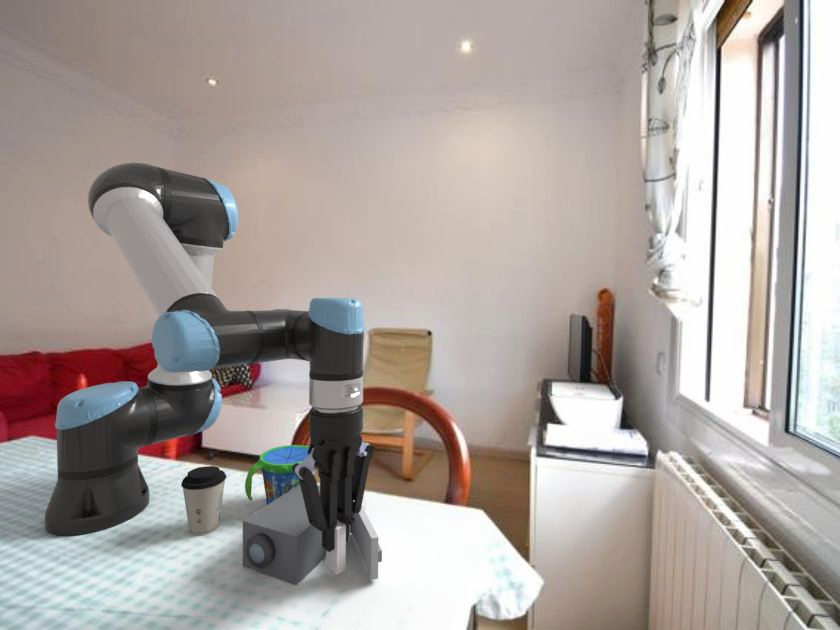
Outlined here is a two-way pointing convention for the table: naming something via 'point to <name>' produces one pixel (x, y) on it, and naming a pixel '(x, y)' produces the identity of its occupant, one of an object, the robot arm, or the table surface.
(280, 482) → the snack cup
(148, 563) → the table surface
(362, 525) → the door
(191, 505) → the coffee cup
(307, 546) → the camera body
